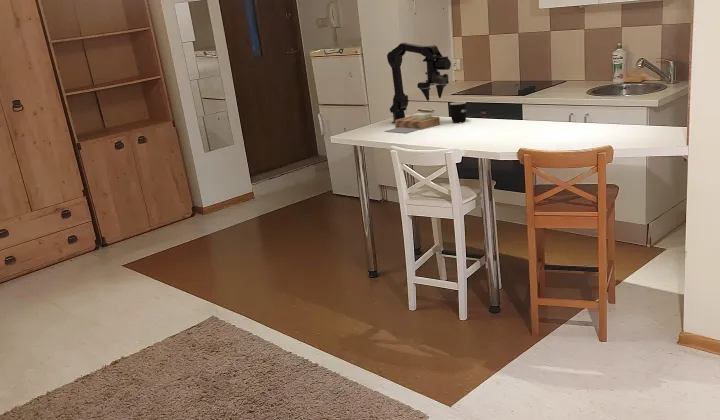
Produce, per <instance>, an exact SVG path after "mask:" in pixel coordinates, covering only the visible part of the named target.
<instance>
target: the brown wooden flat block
mask: <svg viewBox="0 0 720 420" xmlns="http://www.w3.org/2000/svg"><path fill="white" fill-rule="evenodd" d="M440 122H441V119H440V117H439V116H432V117H431V118H427V119H414V118H412V115H410V116H407V117H406V116H405V118H402V119H398V120H395V123H394V125H395V126H394V128H398V127H403V128H416V129H420V130H425V129H429V128H433V127H436V126H439V125H441V123H440Z"/></svg>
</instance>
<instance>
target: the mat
mask: <svg viewBox="0 0 720 420" xmlns="http://www.w3.org/2000/svg"><path fill="white" fill-rule="evenodd" d="M420 130H421V129H416V128H403V127H398V128H396V127H394V128H392V129H391V128H390V129H387V130H384V132H385V133H396V134H409V133H413V132H417V131H420Z"/></svg>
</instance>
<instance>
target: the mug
mask: <svg viewBox="0 0 720 420" xmlns="http://www.w3.org/2000/svg"><path fill="white" fill-rule="evenodd" d="M449 111H450V117H451V121H452V122H453V123H454V124H460V123H459V122H461V123H464V121H466V118H467V102H466V101H456V102H450V103H449Z"/></svg>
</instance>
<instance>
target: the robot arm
mask: <svg viewBox="0 0 720 420" xmlns="http://www.w3.org/2000/svg"><path fill="white" fill-rule="evenodd" d="M407 52H410V53H415V54H420V55H421V56H423V57H425V58H424V59H422V62H424V63H425V62H426V63H425V64H426V72H425V73H424V74H425V75H426V77H427V79H426V80H425V81H420V82H418V83H417V88H418V89H419V90H420V91H421V92H422V94H423V96H424V98H425V99H426V101H430V90H431V86H434V85H435V87H436V91H437V96H438V98H439V99H441V98H442V96H443V95H442V94H443V92H444V88H445V87H446V86H448V84H449V82H450V81H449V74H447V73H444V74H441V72H440V71H443V70H444V71H448V70H450V69H451V67H452V66H451V65H452V63H451V60H450V59H449V56H447V55H446V56H443V54H441V51H440V50H439V48H438V46H437V45H435V44H434V45H432V44H431V45H419V44H414V43H408V42H401V43H399V44H398V45H397V46H396V47H395V48H393V49H392V50H391V51H389V52H388V53H387V55H386V58H387V62H388V63H387V64H389V66H390V68H391V73H392V81H393V89H394V95H393V98H392V105H391V107H390V108H389V112H390V113H392V117H393V118H392V119H393V121H391V123H392V124H395V120H398V119H402V118H405V117H406V114H405V111H406V110H407V107H408V105H409V102H410V101H409V95H407V94H405V92H404V85H403V78H402V68H401V66H402V63H403V56H404V55H405V54H406V53H407Z"/></svg>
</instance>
